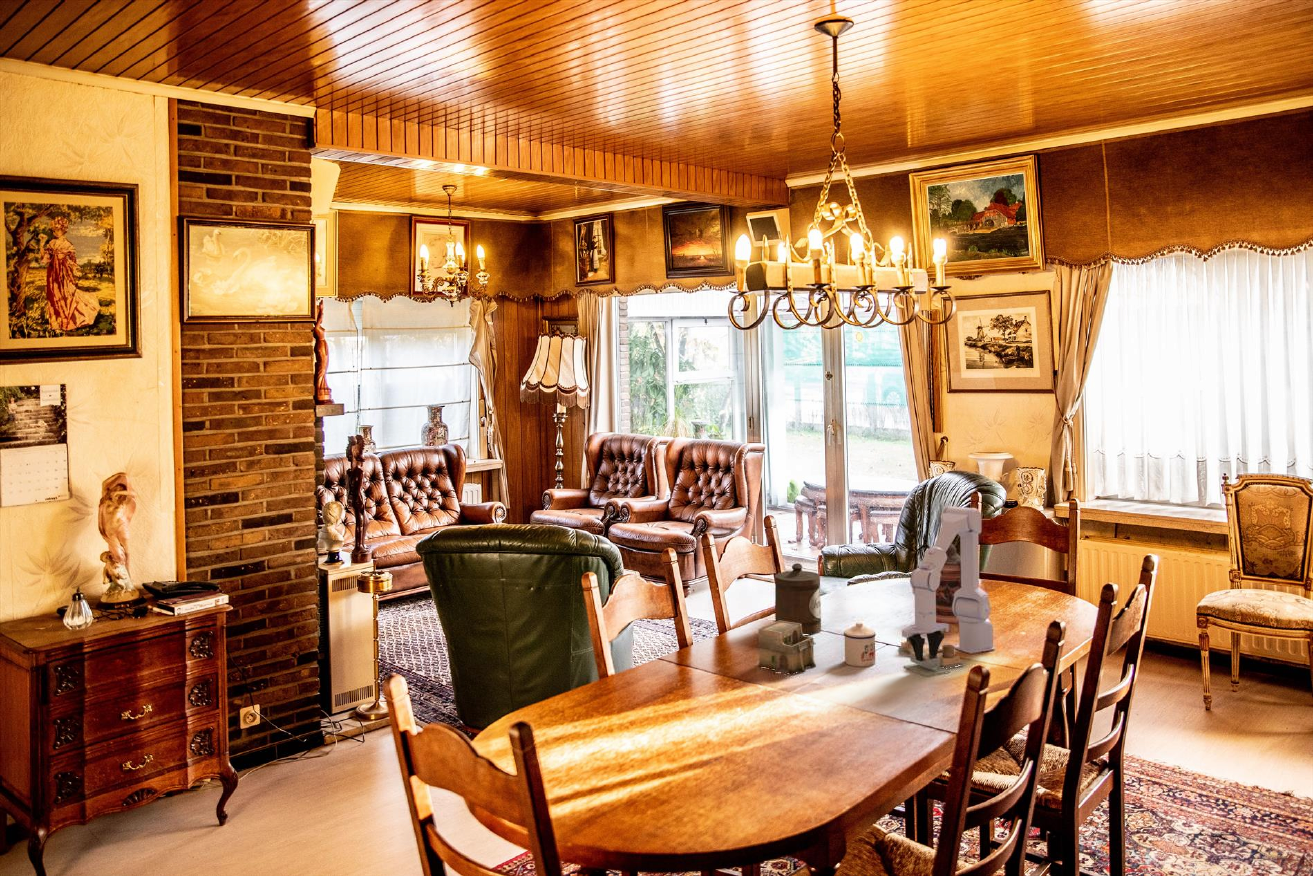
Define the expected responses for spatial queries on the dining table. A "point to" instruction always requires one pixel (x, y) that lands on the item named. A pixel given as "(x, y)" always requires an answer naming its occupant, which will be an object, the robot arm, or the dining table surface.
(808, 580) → the wooden container
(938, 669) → the felt pad
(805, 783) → the dining table surface
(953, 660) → the plane body
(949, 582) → the beer stein
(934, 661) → the lever cap
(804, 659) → the miniature house
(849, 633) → the teacup with lid
